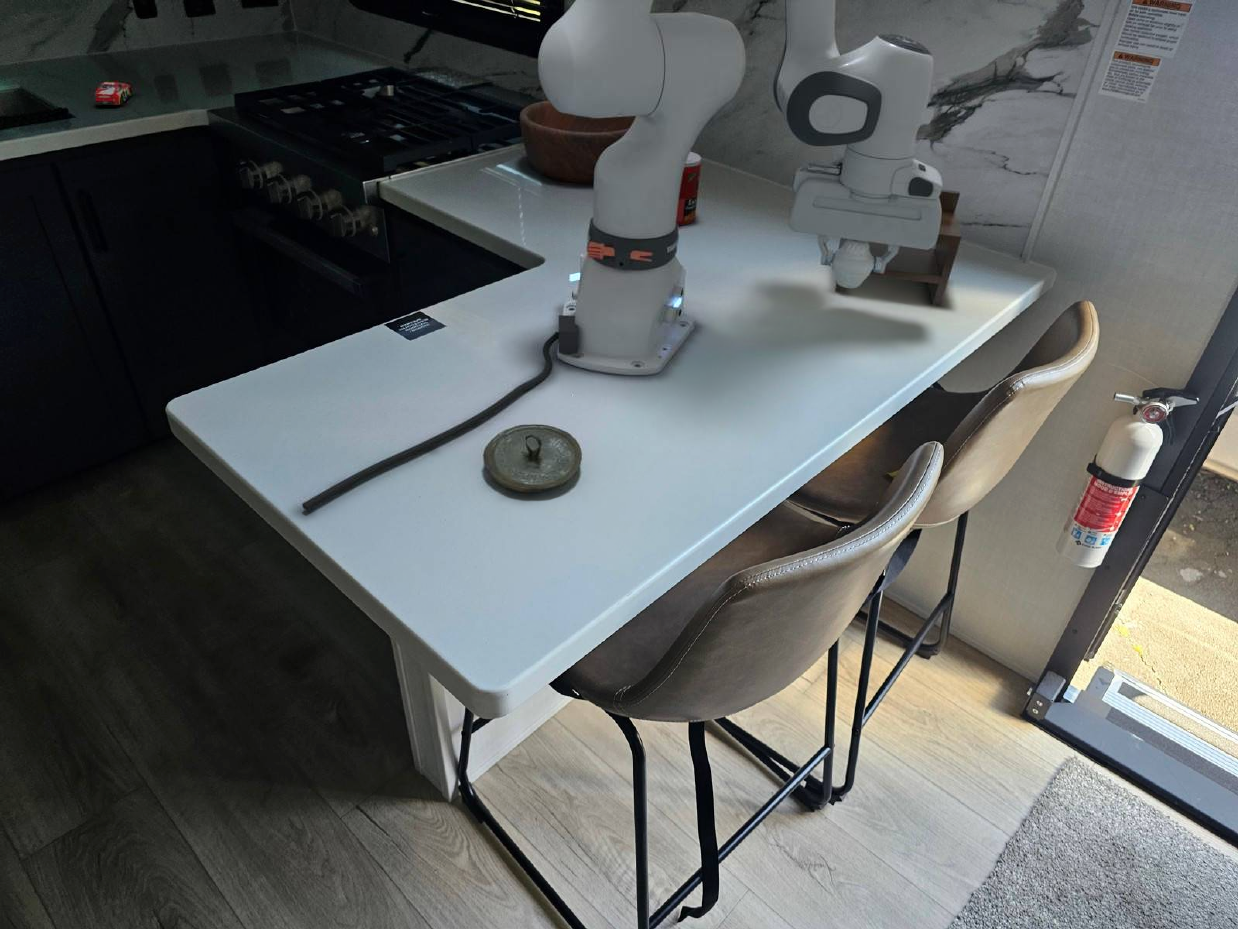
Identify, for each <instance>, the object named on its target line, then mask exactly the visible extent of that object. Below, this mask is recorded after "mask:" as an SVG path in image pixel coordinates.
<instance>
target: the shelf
mask: <svg viewBox="0 0 1238 929" xmlns="http://www.w3.org/2000/svg"><path fill="white" fill-rule="evenodd" d="M960 195H961V192H960V191H958V190H950V189H942V191H941V194H940V196H939V199H940V203H941V209H942V214H941V223H940V229H939V234H938V238H937V242H936V244H935V245H934V248H933V247H931V248H930V249H928V250H925V249H918V248H911V247H903V246H899V249H898V253H897V254H896V255H895V256H894V257H893V258H892V259H891V260H890V261H889V262H888V263H886V267H885V271H884V273H876V272H873V270H872V271H871V272H870V274H869V275H868V276H876V277H884V278H889V279H899V280H906V281H913V282H921V283H928V287H929V288H928V289H929V292H930V298H931V302H932V305H934V306H941V305H942V302H943V299H944V296H945V292H946V289H947V286H948V283H949V281H950V280H949V279H950V276H951V273H952V269H953V267H954V263H955V260H956V257H957V253H958V250H959V247H960V244H961V241H962V237H963V236H962V234H961V230H960V226H959V223H958V220H957V217H956V210H957V206H958V202H959V199H960ZM839 239H840V241H839V244H838V249H840V248H841V247H842V246H843V245H844V243H845V241H846V240H847V239H845V238H839ZM868 244H869V246H870V248H869V250H870V253H871V255H872V256H873V258H874V260H875V258H876V257H882V256H883V255H884V254H885V253H886V252H887V251H888V247H887V244H881V243H874V242H868ZM838 249H837V250H838ZM844 288H845V287H842V286H840V285H838V284H837V282H836V279H835V278H834V292H838V293H843V292H844Z"/></svg>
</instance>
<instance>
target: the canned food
mask: <svg viewBox="0 0 1238 929" xmlns="http://www.w3.org/2000/svg"><path fill="white" fill-rule="evenodd" d="M701 167H702V157H701V156H700V154H698V153H696V152H693V151H690V153H689V155H688V158H687V161H686V163H685V167H684V171H683V175H682V181H681V186H680V193H679V200H678V208H677V217H676V223H677V224H678V226H685V225H688V224H689V225H690V223H693V221H694V219H695V217H696V213H697V204H698V203H697V202H698V196H699V185H700V176H701V169H702V168H701Z"/></svg>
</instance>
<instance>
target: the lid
mask: <svg viewBox="0 0 1238 929" xmlns="http://www.w3.org/2000/svg"><path fill="white" fill-rule="evenodd" d="M482 458H483V464H484V467H485V470H486V471H487V473H488V474H489V475H490V477H492V478H493V480H494V481H495V482H497V483H498V485H501V486H502V487H504V488H506V489H507V490H510V491H513V492H518V493H519V492H520V493H539V492H544V491H549V490H551V489H555V488H558V487H561V486H562V485H565V484H567V483H568V482H569V481H571V479H572V478H574V476H575V475H576V474H577V473H578V470H579V468H580V467H581V465H582V464H581V463H582V460H583V453H582V448H581V446H580V443H579V442H578V440H577V439H576V438H575V437H574V436H572V434H571V433H569V432H568V431H566V430H563V429H561V428H558V427H555V426H552V425H547V424H539V423H538V424H535V423H534V424H533V423H532V424H531V423H530V424H519V425H515V426H512V427H509V428H506V429H505V430H503V431H501V432H498V433H497V434H496V435H495V436H494V437H493V438H492V439H490V441H489V442H488V443H487V444H486V446H485V447H484V450H483V453H482Z"/></svg>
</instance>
